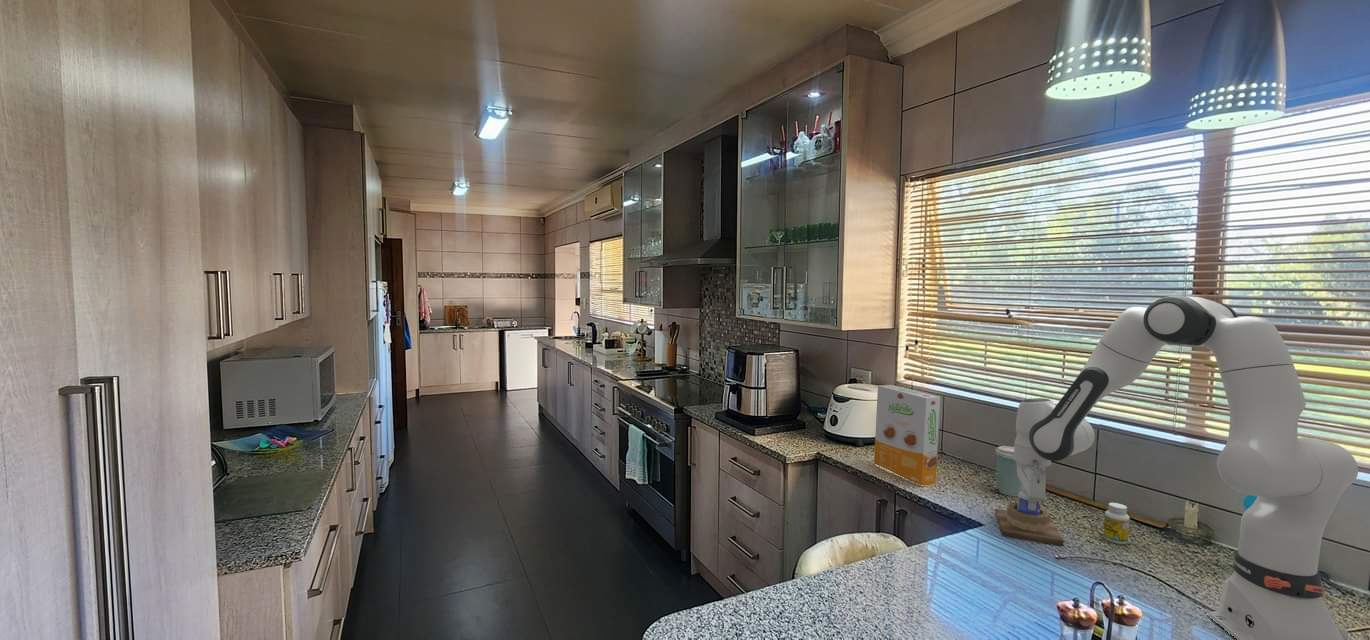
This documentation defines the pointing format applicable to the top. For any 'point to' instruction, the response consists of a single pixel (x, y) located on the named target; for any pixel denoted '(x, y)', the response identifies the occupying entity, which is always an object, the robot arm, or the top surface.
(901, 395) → the cereal box
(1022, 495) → the pill bottle
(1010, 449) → the disposable coffee cup
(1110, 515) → the supplement bottle
